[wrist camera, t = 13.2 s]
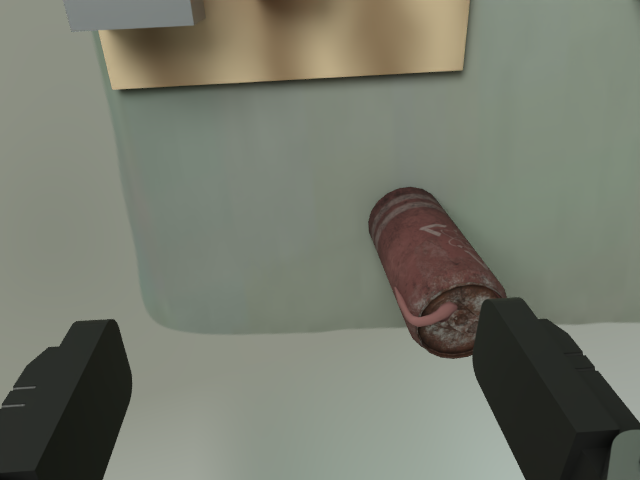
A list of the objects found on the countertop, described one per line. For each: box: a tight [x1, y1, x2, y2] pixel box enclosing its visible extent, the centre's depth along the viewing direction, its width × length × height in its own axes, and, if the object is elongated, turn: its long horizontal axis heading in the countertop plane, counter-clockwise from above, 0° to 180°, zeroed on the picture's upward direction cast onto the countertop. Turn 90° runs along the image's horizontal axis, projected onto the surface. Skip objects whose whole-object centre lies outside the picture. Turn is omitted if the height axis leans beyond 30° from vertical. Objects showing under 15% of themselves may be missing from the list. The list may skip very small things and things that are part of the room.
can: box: [368, 187, 507, 359], centre depth 34 cm, size 6×6×14 cm
